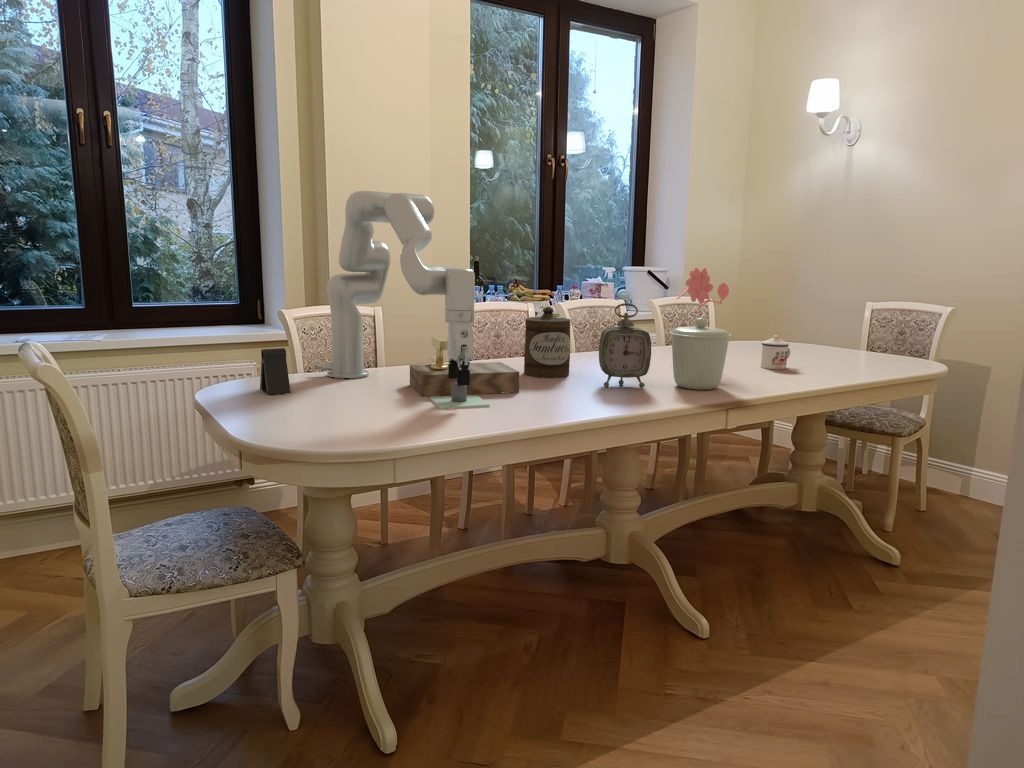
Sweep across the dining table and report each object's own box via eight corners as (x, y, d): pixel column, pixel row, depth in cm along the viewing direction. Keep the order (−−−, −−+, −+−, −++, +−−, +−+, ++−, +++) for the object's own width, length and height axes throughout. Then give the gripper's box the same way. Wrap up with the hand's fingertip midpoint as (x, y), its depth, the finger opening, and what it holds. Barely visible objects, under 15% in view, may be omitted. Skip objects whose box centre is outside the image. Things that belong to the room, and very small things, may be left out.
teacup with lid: (773, 370, 261) (776, 337, 259) (754, 366, 269) (757, 334, 267) (798, 368, 266) (801, 336, 264) (778, 364, 274) (781, 333, 272)
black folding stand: (259, 390, 208) (258, 347, 205) (281, 388, 211) (280, 346, 209) (268, 395, 200) (266, 351, 198) (290, 393, 203) (289, 350, 201)
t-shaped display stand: (452, 371, 209) (452, 341, 207) (435, 371, 207) (435, 341, 205) (439, 362, 223) (439, 334, 221) (423, 363, 221) (423, 335, 219)
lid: (440, 411, 188) (440, 389, 187) (429, 401, 200) (429, 380, 199) (489, 409, 192) (489, 387, 191) (476, 399, 204) (476, 378, 203)
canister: (654, 386, 226) (658, 316, 222) (687, 379, 239) (691, 314, 235) (707, 395, 213) (712, 322, 210) (738, 388, 226) (744, 318, 222)
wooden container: (530, 378, 235) (532, 308, 231) (518, 370, 249) (520, 304, 245) (575, 377, 238) (578, 308, 234) (561, 369, 253) (563, 305, 249)
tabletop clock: (600, 388, 220) (604, 304, 216) (596, 383, 229) (599, 301, 225) (649, 389, 221) (654, 304, 216) (642, 383, 230) (647, 302, 225)
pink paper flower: (684, 360, 280) (689, 266, 273) (735, 371, 257) (741, 269, 251) (652, 363, 273) (656, 266, 266) (701, 375, 250) (706, 269, 243)
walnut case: (421, 396, 203) (421, 375, 202) (409, 384, 220) (409, 364, 219) (518, 392, 212) (519, 371, 211) (500, 381, 228) (500, 362, 227)
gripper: (482, 320, 185) (481, 387, 188) (465, 313, 201) (464, 375, 205) (453, 320, 183) (452, 388, 186) (438, 313, 199) (437, 376, 202)
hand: (458, 381), depth 195 cm, fingers open, 9 cm apart
